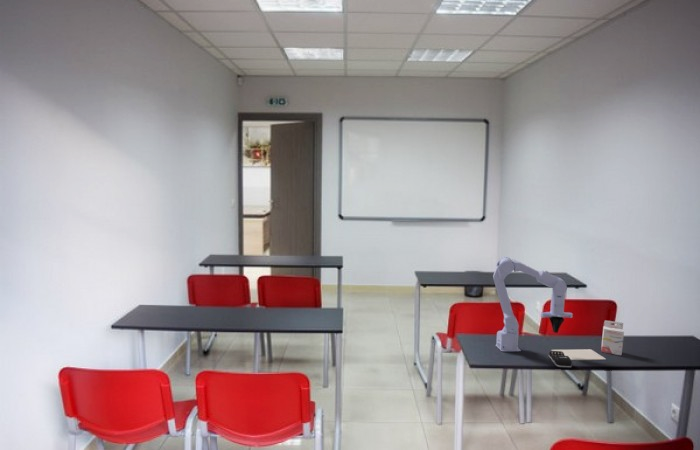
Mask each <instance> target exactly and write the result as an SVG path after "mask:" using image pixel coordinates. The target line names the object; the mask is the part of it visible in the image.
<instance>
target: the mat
mask: <svg viewBox="0 0 700 450" xmlns="http://www.w3.org/2000/svg"><path fill="white" fill-rule="evenodd" d="M550 351H562V352H563V353H564V355H565V356H568V357H569V358H570V359H571V361H606V360H607V358H605V357H604V356H602V355H601V354H599V353H597V352H596V351H595V350H593V349H591V348H590V349H589V348H588V349H587V348H586V349H584V348H583V349H551V350H550Z"/></svg>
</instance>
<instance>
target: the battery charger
mask: <svg viewBox="0 0 700 450" xmlns="http://www.w3.org/2000/svg"><path fill="white" fill-rule="evenodd" d="M548 358H549V360H551V362H552V363H553V364H554V365H555V367H557V368H560V369H563V368H564V369H572V366H573V365H572V364H573V362H572V361H573V360H571V359H570V358H569V357H568V356H565V355H564V353H563V352H562V351H551V350H550V351H549V353H548Z"/></svg>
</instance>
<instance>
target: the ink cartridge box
mask: <svg viewBox="0 0 700 450" xmlns="http://www.w3.org/2000/svg"><path fill="white" fill-rule="evenodd" d="M623 328H624V323H623V322H620V321H612V320H606V319H605V320H604V322H603V326H602V336H601V337H602V338H601V347H600V350H601V353H604V354H605V353H606V354H610V355H611V354H613V355H616V356H622V353H623V344H624V337H625V336H624V334H625V332H624V331H625V330H624V329H623Z"/></svg>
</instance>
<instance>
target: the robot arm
mask: <svg viewBox="0 0 700 450" xmlns="http://www.w3.org/2000/svg"><path fill="white" fill-rule="evenodd" d="M513 271H514V273H517V272H522V273H524V274H526V275H529V276H532V278H535V279H536V282H537V283H540V284H542V285H544V286H546V287H548V288H551V289H552V290H551V297H550V298H551V300H550V311H545V312H544V311H542V312H540V317H541V318H542V319H543V318H548V320H549V321H550V324H551V328H552V333H555V334H558V332H559V330H560V328H561V326H562V325H563V323H564V321H565V318H571V319H572V318H573V315H574V314H573V313H572V312H565V302H566V301H565V300H566V299H565V298H566V295H565V294H566V291H567V290H568V286H567V283H566V281H564V279H562V278H561V277H559V276H557V275H553V274H551V273H549V271H548V270H540V271H539V270H536V269H535V268H532V267H531V266H529V265H526V264H524V263H522V262H520V261H518V260H516V259H513V258H512V259H511V258H510V257H508V256H506V257H505V256H504V257H501V258H500V259H499V260H498V262H497V263H496V266H495V269H494V272H493V275H492V278H493V283H494V285H495V291H496V292H497V296H498V300H499V303H500V307H501V310H502V313H503V324H504V326H503V328H502V330H498V331H497V332H496V342H495V343H496V344H495V347H497V349H499V350H500V352H521V349H520V348H519V343H518V342H519V328H520V325H519V322H518V320H517V317H516V316H515V315H514V311H513V309H512V305H511V301H510V299H509V293H508V292H507V288H506V284H505V279H506V277H507V276H509V275H510V274H511V273H512V272H513Z"/></svg>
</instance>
